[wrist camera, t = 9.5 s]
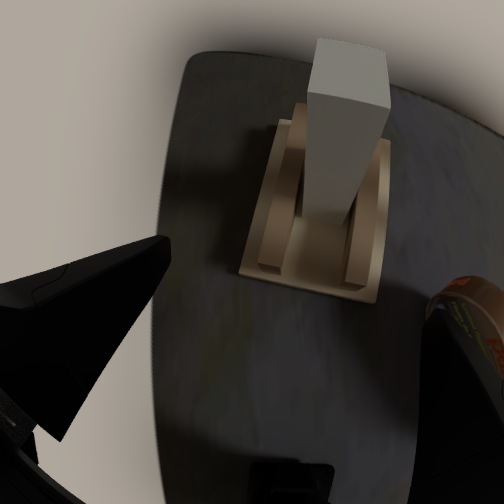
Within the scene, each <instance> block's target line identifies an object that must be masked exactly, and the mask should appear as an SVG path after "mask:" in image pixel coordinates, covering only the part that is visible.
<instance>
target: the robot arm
mask: <svg viewBox="0 0 504 504" xmlns="http://www.w3.org/2000/svg"><path fill="white" fill-rule="evenodd" d="M170 263H171V242H170V239H169V238H168V237H166V236H162V235H156V236H152V237H149V238H145V239H142V240H139V241H136V242H132V243H129V244H126V245H123V246H120V247H116V248H113V249H110V250H107V251H104V252H101V253H98V254H94V255H92V256H88V257H86V258H82V259H79V260H77V261H73V262H71V263H70V264H64V265H62V266H59V267H56V268H53V269H50V270H47V271H44V272H40V273H37V274H33V275H30V276H26V277H23V278H19V279H16V280H13V281H9V282H6V283H1V284H0V504H86V503H84V502H83V501H81V500H80V499H78V498H77V497H76V496H74V495H73V494H72V493H70V492H69V491H68V490H66V489H65V488H64V487H62V486H61V485H60V484H59V483H57V482H56V481H55V480H54V479H52V478H51V477H50V476H49V475H48V474H46V473H45V472H44V471H43V470H42V469H41V468H40V467H39V466H38V463H39V462H38V457H37V451H36V445H35V438H34V433H33V432H32V431H33V429H34V428H35V427H36V425H37V424H38V425H39V426H40V427H41V428H43V429H44V430H45V431H46V432H48V433H49V434H50V435H51V436H52V437H54V438H55V439H56V440H57V441H59V442H61V441H62V439H63V437H64V435H65V434H66V432H67V430H68V428H69V427H70V425H71V423H72V421H73V419H74V418H75V416H76V414H77V413H78V411H79V409H80V407H81V406H82V404H83V403H84V401H85V399H86V398H87V396H88V394H89V392H90V391H91V389H92V387H93V386H94V384H95V382H96V381H97V379H98V378H99V376H100V375H101V373H102V371H103V370H104V368H105V367H106V365H107V363H108V362H109V360H110V359H111V357H112V356H113V354H114V353H115V351H116V350H117V348H118V346H119V345H120V343H121V342H122V340H123V339H124V337H125V336H126V334H127V333H128V331H129V330H130V328H131V326H132V325H133V324H134V322H135V321H136V319H137V318H138V316H139V315H140V314H141V312H142V311H143V309H144V308H145V306H146V305H147V303H148V302H149V301H150V299H151V297H152V296H153V294H154V292H155V290H156V289H157V287H158V285H159V283H160V281H161V280H162V278H163V276H164V274H165V272H166V271H167V269H168V267H169V265H170ZM254 467H259V468H260V469H255V468H254ZM326 470H331V471H330V472H325V471H326ZM334 473H335V469H334V467H333V466H332V465H311V464H299V463H277V464H273V463H262V462H254V463H252V464H251V467H250V474H249V484H248V494H247V504H331V503H329V502H328V498H329V494H330V490H331V486H332V482H333V478H334ZM407 504H504V380H502V377H501V376H500V374H499V373H498V372H497V370H496V369H495V368H494V366H493V365H492V364H491V362H490V361H489V360H488V358H487V357H486V356H485V355H484V353H483V352H482V351H481V350H480V348H479V347H478V346H477V345H476V343H475V342H474V341H473V340H472V339H471V337H470V336H469V335H468V334H467V333H466V332H465V330H464V329H463V328H462V327H461V326H460V325H459V323H458V322H457V321H456V320H455V319H454V318H453V317H452V316H451V314H450V313H449V312H448V311H447V310H446V309H442V308H438V307H437V308H435V309H434V310H433V311H432V313H431V314H430V316H429V317H428V319H427V320H426V322H425V324H424V325H423V328H422V339H421V357H420V397H419V421H418V435H417V446H416V455H415V463H414V470H413V476H412V482H411V487H410V492H409V497H408V502H407Z"/></svg>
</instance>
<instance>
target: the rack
mask: <svg viewBox="0 0 504 504" xmlns="http://www.w3.org/2000/svg"><path fill="white" fill-rule="evenodd" d="M306 133H307V104H303V103H296V105H295V110H294V114H293V118H292V121H291V120H284V119H280V120H279V124H278V127H277V131H276V135H275V138H274V142H273V146H272V149H271V153H270V157H269V160H268V164H267V168H266V172H265V175H264V179H263V183H262V186H261V190H260V194H259V198H258V201H257V205H256V209H255V213H254V216H253V220H252V224H251V228H250V231H249V235H248V239H247V243H246V247H245V250H244V254H243V258H242V262H241V266H240V269H239V274H240V275H241V276H245V277H250V278H254V279H258V280H263V281H267V282H272V283H276V284H280V285H285V286H289V287H294V288H299V289H303V290H308V291H312V292H317V293H322V294H326V295H331V296H336V297H341V298H345V299H350V300H355V301H360V302H365V303H370V304H373V303H376V298H377V293H378V287H379V281H380V274H381V268H382V260H383V253H384V245H385V236H386V226H387V214H388V200H389V182H390V141H389V140H386V139H382V138H381V136H380V139H379V141H378V144H377V146H376V149H375V151H374V154H373V156H372V158H371V161H370V163H369V166H368V168H367V170H366V173H365V175H364V177H363V180H362V182H361V184H360V187H359V189H358V191H357V193H356V196H355V198H354V200H353V202H352V204H351V207H350V209H349V211H348V213H347V215H346V218H345V220H344V222H343V224H342V226H340V225H335V224H331V223H326V222H321V221H316V220H311V219H306V218H302V209H303V194H304V177H305V157H306Z"/></svg>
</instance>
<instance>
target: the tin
mask: <svg viewBox="0 0 504 504" xmlns="http://www.w3.org/2000/svg"><path fill="white" fill-rule="evenodd" d="M437 307H438V308H442V309H446V310H447V311H448V312H449V313H450V314H451V316H452V317H453V318H454V319H455V320H456V321H457V322H458V323H459V325H460V326H461V327H462V328H463V329H464V330H465V332H466V333H467V334H468V335H469V336H470V337H471V339H472V340H473V341H474V342H475V343H476V345H477V346H478V347H479V348H480V350H481V351H482V352H483V353H484V355H485V356H486V357H487V358H488V360H489V361H490V362H491V364H492V365H493V366H494V368H495V369H496V370H497V372H498V373H499V374H500V376H501V377H502V380H504V292H503V291H502V290H501V289H500V288H499V287H497V286H496V285H495V284H493V283H492V282H490V281H488V280H486V279H484V278H481V277H478V276H465V277H460V278H457V279H455V280H453V281H452V282H451V283H449V284H448V285H447V286H446V287H445V288H444V289H443V290H442V291H441V292H440V293H438V294H436V295H434V296H433V297H432V298H431V299H430V300H429V302H428V304H427V307H426V320H427V319H428V317H429V316H430V314H431V313H432V311H433V310H434V309H435V308H437Z"/></svg>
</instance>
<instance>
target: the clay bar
mask: <svg viewBox="0 0 504 504" xmlns="http://www.w3.org/2000/svg"><path fill="white" fill-rule="evenodd" d="M390 110H391V103H390V90H389V79H388V70H387V62H386V54H385V51H384V50H380V49H376V48H372V47H368V46H363V45H359V44H354V43H348V42H343V41H337V40H331V39H324V38H318V42H317V47H316V52H315V58H314V62H313V67H312V72H311V77H310V82H309V87H308V94H307V133H306V157H305V177H304V194H303V209H302V218H306V219H311V220H316V221H321V222H326V223H331V224H335V225H340V226H342V224H343V222H344V220H345V218H346V215H347V213H348V211H349V209H350V207H351V204H352V202H353V200H354V198H355V196H356V193H357V191H358V189H359V187H360V184H361V182H362V180H363V177H364V175H365V173H366V170H367V168H368V166H369V163H370V161H371V158H372V156H373V154H374V151H375V149H376V146H377V144H378V141H379V139H380V136H381V134H382V131H383V128H384V126H385V123H386V121H387V118H388V115H389V113H390Z"/></svg>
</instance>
